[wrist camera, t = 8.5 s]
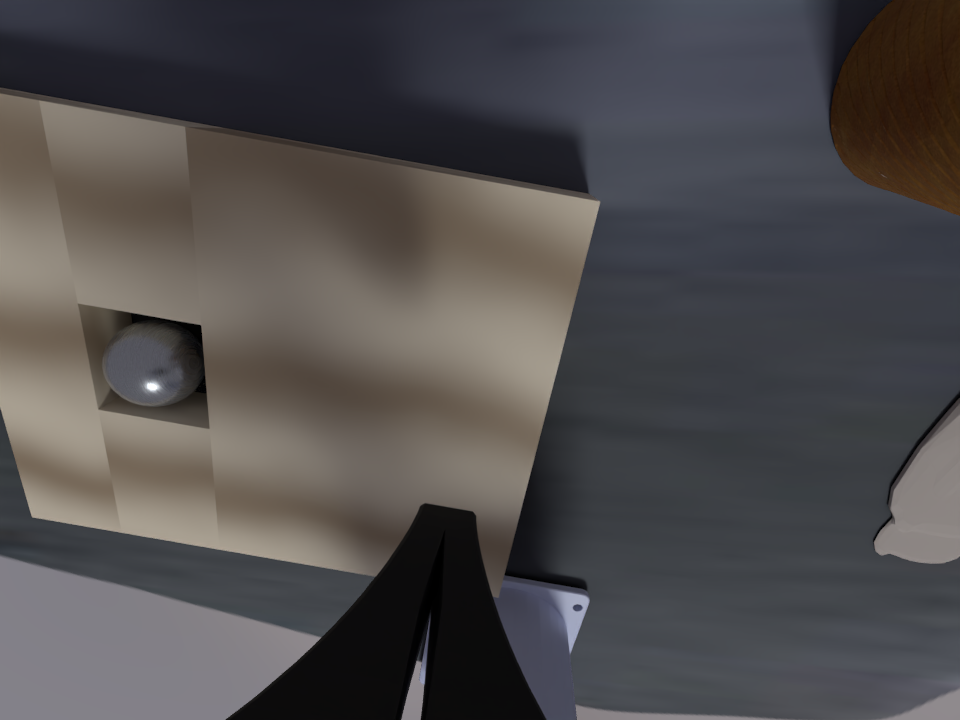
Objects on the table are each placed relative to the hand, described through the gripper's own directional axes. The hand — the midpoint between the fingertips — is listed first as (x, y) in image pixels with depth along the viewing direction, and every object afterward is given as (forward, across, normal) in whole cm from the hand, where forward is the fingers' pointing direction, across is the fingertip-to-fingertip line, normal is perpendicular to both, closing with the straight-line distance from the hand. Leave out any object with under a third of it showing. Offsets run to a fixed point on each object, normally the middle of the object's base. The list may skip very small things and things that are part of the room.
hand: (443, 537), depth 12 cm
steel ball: (+8, +13, +1) cm, 15 cm away
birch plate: (+9, +8, +1) cm, 12 cm away
